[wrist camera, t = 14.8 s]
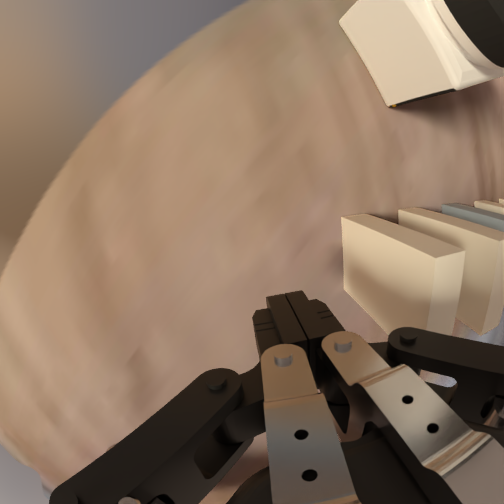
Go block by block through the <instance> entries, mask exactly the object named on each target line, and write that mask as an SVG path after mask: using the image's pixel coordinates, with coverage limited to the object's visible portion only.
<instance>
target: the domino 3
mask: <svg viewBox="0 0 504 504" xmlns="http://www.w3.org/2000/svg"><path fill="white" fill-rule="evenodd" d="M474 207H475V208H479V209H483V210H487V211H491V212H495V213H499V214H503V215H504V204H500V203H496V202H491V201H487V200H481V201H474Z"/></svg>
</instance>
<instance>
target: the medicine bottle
mask: <svg viewBox="0 0 504 504" xmlns="http://www.w3.org/2000/svg"><path fill="white" fill-rule="evenodd" d="M339 24H340V26H341V27H342V29H343V30H344V32H345V33H346V35H347V36H348V38H349V39H350V41H351V43H352V44H353V46H354V47H355V49H356V51H357V52H358V54H359V56H360V57H361V59H362V61H363V62H364V64H365V66H366V68H367V69H368V71H369V73H370V75H371V77H372V78H373V80H374V82H375V84H376V86H377V88H378V90H379V92H380V94H381V96H382V98H383V100H384V102H385V104H386V105H387V106H388V107H396V106H399V105H403V104H406V103H410V102H413V101H417V100H421V99H425V98H429V97H433V96H437V95H441V94H445V93H449V92H454V91H458V90H461V89H464V88H467V87H470V86H473V85H477V84H480V83H483V82H486V81H489V80H493V79H496V78H500V77H503V76H504V0H358V1H357V2H356V3H355V4H354V5H353V6H352V7H351V8H350V9H349V10H348V11H347V12H346V13H345V15H344V16H343V17H342V18H341V19H340V21H339Z"/></svg>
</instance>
